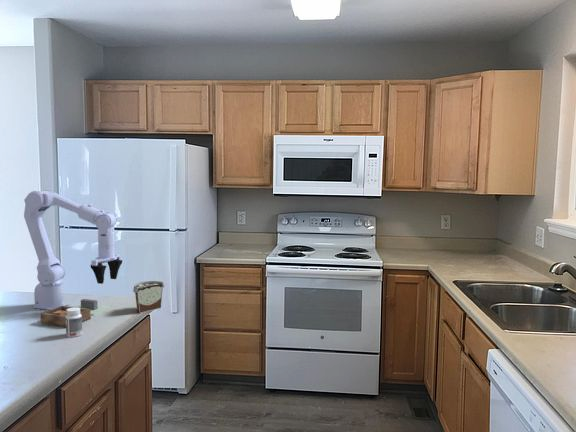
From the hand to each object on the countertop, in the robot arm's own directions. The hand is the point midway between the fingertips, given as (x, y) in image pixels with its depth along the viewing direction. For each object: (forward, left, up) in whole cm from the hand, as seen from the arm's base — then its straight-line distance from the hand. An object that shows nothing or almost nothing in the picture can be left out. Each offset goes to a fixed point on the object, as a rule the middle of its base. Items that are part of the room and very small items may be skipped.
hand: (107, 281), depth 181 cm
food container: (+14, +4, -11) cm, 18 cm away
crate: (-3, -18, -10) cm, 21 cm away
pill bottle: (+9, -28, -11) cm, 31 cm away
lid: (-5, -4, -11) cm, 13 cm away
